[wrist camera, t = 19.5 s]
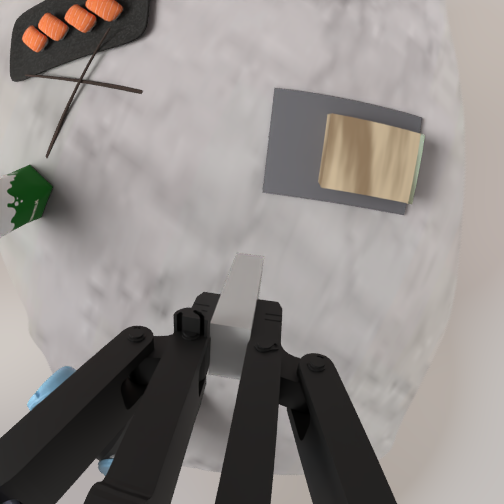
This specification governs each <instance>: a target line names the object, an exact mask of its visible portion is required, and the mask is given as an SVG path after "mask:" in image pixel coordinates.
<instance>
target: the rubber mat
mask: <svg viewBox="0 0 504 504" xmlns="http://www.w3.org/2000/svg"><path fill="white" fill-rule="evenodd" d="M331 113H333V114H338V115H343V116H349V117H354V118H358V119H363V120H368V121H372V122H377V123H381V124H385V125H389V126H393V127H397V128H401V129H405V130H409V131H412V132H416V133H420V128H421V120H422V118H421V117H418V116H415V115H411V114H408V113H404V112H400V111H396V110H393V109H389V108H385V107H381V106H376V105H372V104H368V103H363V102H359V101H354V100H349V99H344V98H339V97H333V96H328V95H322V94H316V93H310V92H303V91H296V90H288V89H280V88H275V89H274V97H273V106H272V115H271V124H270V132H269V141H268V150H267V158H266V167H265V176H264V184H263V192H264V193H271V194H279V195H286V196H293V197H300V198H307V199H313V200H320V201H326V202H333V203H339V204H345V205H351V206H357V207H362V208H368V209H374V210H379V211H385V212H390V213H395V214H400V215H404V213H405V208H406V204H407V203H403V202H399V201H394V200H389V199H383V198H378V197H373V196H368V195H362V194H357V193H351V192H345V191H339V190H333V189H327V188H321V186H320V184H319V182H318V179H319V172H320V166H321V159H322V152H323V145H324V138H325V130H326V123H327V115H328V114H331Z"/></svg>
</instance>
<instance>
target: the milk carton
mask: <svg viewBox="0 0 504 504" xmlns="http://www.w3.org/2000/svg"><path fill="white" fill-rule="evenodd" d="M52 188H53V186H52V185H51V184H50V183H49V182H47V181H46V180H45V179H44V178H43V177H42V176H41V175H40V174H39V173H38V172H37V171H36V170H35V169H34V168H33V167H31V166H30V165H28V166H26V167H23V168H21V169H19V170H17V171H14V172H12V173H10V174H7V175H4V176H1V177H0V238H1V237H2V236H4V235H6V234H8V233H9V232H11V231H13V230H15V229H17V228H19V227H20V226H22V225H24V224H26V223H29V222H31V221H34V220H36V219H38V218H41V217H42V214H43V211H44V209H45V206H46V203H47V201H48V198H49V196H50V193H51V191H52Z"/></svg>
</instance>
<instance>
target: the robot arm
mask: <svg viewBox="0 0 504 504" xmlns="http://www.w3.org/2000/svg"><path fill="white" fill-rule="evenodd" d="M263 261H264V256H258V255H251V254H243V253H236V256H235V258H234V261H233V264H232V266H231V269H230V272H229V274H228V277H227V280H226V282H225V285H224V288H223V290H222V293H221V294H214V293H208V292H203V293H202V294H200V295H199V296H197V298H196V300H195V302H194V304H193V306H192V308H183V309H180V310H178V311H176V312H175V313H174V333H173V334H172V335H169V336H153V333H152V331H151V330H150V329H148V328H147V327H143V326H132V327H128V328H127V329H125V330H123V331H122V332H121V333H120V334H119V335H117V336H116V337H115V338H114V339H113V340H111V341H110V342H109V343H108V344H107V345H106V346H104V347H103V348H102V349H101V350H100V351H99V352H97V353H96V354H95V355H94V356H93V357H92V358H90V359H89V360H88V361H87V362H86V363H85V364H84V365H82V366H81V367H80V368H79V369H78V370H77V371H76V370H75V369H74V368H72V367H69V366H65V367H62V368H60V369H59V370H57V371H56V372H55V373H54V374H53V375H52V376H51V377H49V378H48V380H46V381H45V382H44V383H43V384H42V386H41V387H40V388H39V389H38V391H36V393H35V394H34V395H33V396H32V397H31V399H30V400H29V401H28V404H27V406H28V408H29V410H30V412H29V413H28V414H27V415H26V416H24V417H23V418H22V419H21V420H20V421H19V422H18V423H17V424H16V425H14V426H13V427H12V428H11V429H10V430H9V431H8V432H7V433H6V434H4V435H3V436H2V437H1V438H0V504H55V503H57V501H58V500H59V499H60V498H61V497H62V496H63V495H64V493H66V491H67V490H68V489H69V488H70V487H71V486H72V485H73V484H74V482H75V481H76V480H77V479H78V478H79V477H80V476H81V474H82V473H83V472H84V471H85V470H86V469H87V468H88V466H89V465H90V464H91V463H92V462H93V461H94V460H95V459H98V460H99V463H98V465H99V466H98V468H99V470H100V472H101V473H103V474H104V475H105V478H104V480H103V481H101V482H97V483H95V484H94V485H93V486H92V488H91V489H90V491H89V493H88V495H87V497H86V499H85V502H84V504H171V500H172V497H173V493H174V490H175V486H176V483H177V480H178V476H179V473H180V470H181V466H182V463H183V460H184V456H185V453H186V449H187V446H188V443H189V439H190V436H191V433H192V429H193V426H194V423H195V419H196V416H197V412H198V410H199V407H200V404H201V399H202V396H203V392H204V389H205V386H206V375H207V372H208V368H209V375H215V376H220V377H226V378H232V379H239V380H240V383H239V389H238V394H237V399H236V404H235V409H234V414H233V419H232V423H231V428H230V433H229V438H228V443H227V448H226V453H225V458H224V463H223V467H222V472H221V477H220V482H219V487H218V491H217V496H216V501H215V504H270V503H271V493H272V482H273V471H274V460H275V448H276V435H277V421H278V407H279V404H280V405H282V406H285V407H287V413H288V416H289V420H290V423H291V427H292V431H293V434H294V438H295V442H296V445H297V449H298V452H299V456H300V460H301V463H302V467H303V470H304V474H305V477H306V481H307V484H308V488H309V492H310V495H311V499H312V502H313V504H397V503H396V501H395V498H394V496H393V493H392V491H391V489H390V486H389V484H388V482H387V480H386V477H385V475H384V473H383V470H382V468H381V466H380V464H379V461H378V459H377V457H376V455H375V453H374V450H373V448H372V446H371V444H370V441H369V439H368V437H367V435H366V433H365V430H364V428H363V426H362V424H361V422H360V419H359V417H358V415H357V413H356V411H355V409H354V406H353V404H352V402H351V400H350V398H349V396H348V393H347V391H346V389H345V387H344V385H343V383H342V381H341V378H340V376H339V374H338V372H337V370H336V368H335V366H334V364H333V362H332V361H331V360H330V359H329V358H328V357H326V356H324V355H321V354H316V353H311V354H306V355H304V356H303V357H302V358H301V359H300V358H297V357H294V356H292V355H290V354H288V353H287V352H286V351H285V350H284V349H283V348H282V346H281V326H282V307H281V306H280V304H279V303H278V302H274V301H266V300H259V291H260V284H261V276H262V269H263Z"/></svg>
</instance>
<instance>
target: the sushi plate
mask: <svg viewBox="0 0 504 504" xmlns="http://www.w3.org/2000/svg"><path fill="white" fill-rule="evenodd" d="M148 13H149V0H45V1H43V2H41V3H39V4H38V5H36V6H34V7H32V8H31V9H29V10H27V11H26V12H24V13H23V14H22V15H21V16H20V17H19V18H18V19H17V20H16V22H15V24H14V28H13V32H12V39H11V51H10V76H11V79H12V81H14V82H18V81H22V80H24V79H27V78H29V77H42V78H50V79H59V80H66V81H73V82H78V83H77V85H76V87H75V89H74V91H73V93H72V95H71V97H70V99H69V101H68V103H67V106H66V108H65V110H64V112H63V114H62V117H61V119H60V121H59V123H58V126H57V128H56V131H55V133H54V135H53V138H52V141H51V143H50V146H49V148H48V151H47V154H46V158H48V156H49V153H50V151H51V149H52V146H53V144H54V142H55V140H56V137H57V135H58V133H59V131H60V128H61V126H62V123H63V121H64V118H65V116H66V114H67V111H68V109H69V106H70V104H71V102H72V100H73V97H74V95H75V93H76V91H77V89H78V87H79V85H80V83H86V84H92V85H98V86H103V87H109V88H114V89H119V90H124V91H129V92H134V93H139V94H142V92H143V91H142V90H139V89H134V88H129V87H124V86H118V85H113V84H107V83H100V82H94V81H87V80H82V79H83V77H84V75H85V73H86V71H87V69H88V67H89V65H90V63H91V62H92V60H93V58H94V56H95V54H96V53H97V52H99V51H102V50H105V49H109V48H112V47H115V46H119V45H122V44H125V43H128V42H131V41H133V40H135V39H137V38H138V37H140V36H141V35H142V34H143V33H144V31H145V29H146V26H147V21H148ZM92 53H93V55H92V57H91V59H90V60H89V62H88V64H87V66H86V68H85V70H84V71H83V73H82V75H81V77H80V79H71V78H63V77H54V76H43V75H36V74H39V73H41V72H43V71H46V70H48V69H51V68H53V67H56V66H58V65H61V64H63V63H66V62H69V61H72V60H74V59H77V58H80V57H83V56H86V55H89V54H92Z"/></svg>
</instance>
